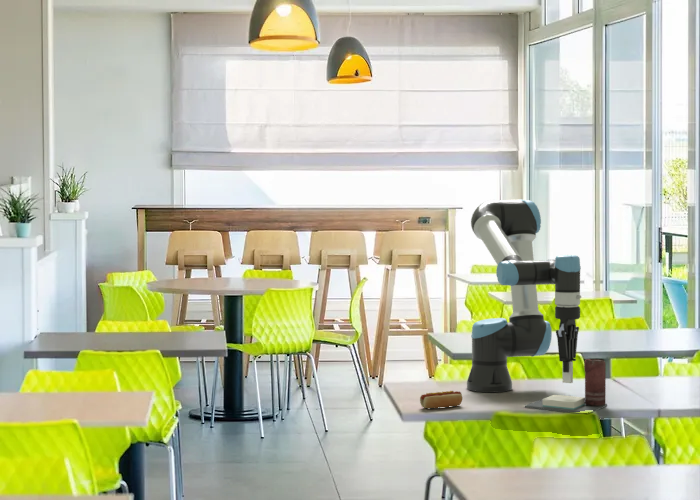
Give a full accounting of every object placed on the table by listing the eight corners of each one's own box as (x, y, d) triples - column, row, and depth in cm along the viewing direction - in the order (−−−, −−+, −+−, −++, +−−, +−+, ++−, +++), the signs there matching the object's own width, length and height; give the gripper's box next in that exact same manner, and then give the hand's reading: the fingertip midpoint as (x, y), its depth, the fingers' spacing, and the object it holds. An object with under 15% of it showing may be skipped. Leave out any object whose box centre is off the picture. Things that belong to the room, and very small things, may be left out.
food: (425, 411, 322) (425, 395, 322) (417, 408, 327) (417, 392, 327) (465, 407, 328) (465, 391, 327) (456, 404, 333) (456, 388, 332)
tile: (554, 401, 332) (542, 406, 324) (554, 394, 332) (542, 399, 324) (584, 404, 326) (573, 409, 319) (584, 397, 326) (573, 402, 319)
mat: (524, 407, 326) (524, 405, 326) (546, 399, 339) (546, 397, 339) (587, 414, 314) (587, 412, 314) (606, 405, 328) (606, 403, 328)
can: (581, 403, 328) (581, 358, 328) (601, 402, 329) (601, 357, 328) (587, 407, 322) (587, 361, 322) (608, 406, 323) (608, 360, 322)
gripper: (571, 308, 319) (571, 386, 320) (587, 304, 330) (587, 380, 331) (547, 307, 323) (547, 384, 324) (564, 303, 334) (564, 378, 335)
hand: (567, 382), depth 327 cm, fingers closed
